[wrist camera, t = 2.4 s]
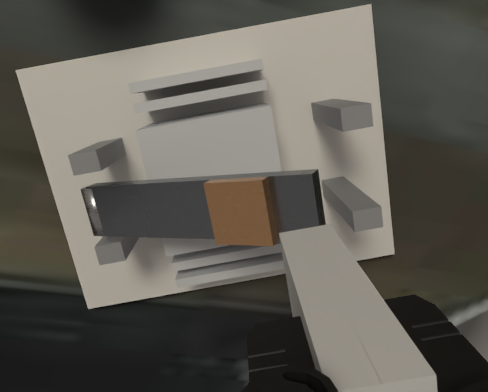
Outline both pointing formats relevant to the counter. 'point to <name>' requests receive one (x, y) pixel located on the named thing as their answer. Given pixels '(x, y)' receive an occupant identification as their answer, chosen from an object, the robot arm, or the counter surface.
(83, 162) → the heatsink base
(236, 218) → the lever
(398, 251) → the counter surface
